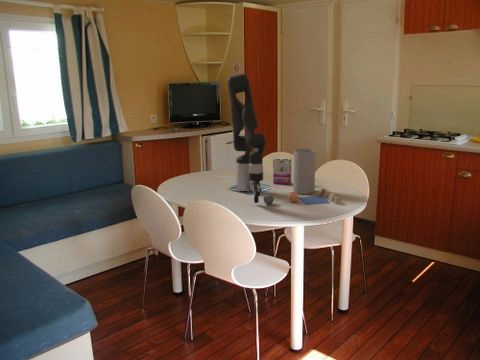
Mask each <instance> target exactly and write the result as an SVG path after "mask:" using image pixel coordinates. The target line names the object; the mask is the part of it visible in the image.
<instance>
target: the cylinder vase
mask: <svg viewBox="0 0 480 360" xmlns="http://www.w3.org/2000/svg"><path fill="white" fill-rule="evenodd" d="M292 178H293V180H292V181H293V185H292V186H293V188H292V189H293V191H292V192H295V193H297V194H298V195H311V194H314V193H315V188H316V187H315V186H316V184H315V183H316V149H312V148H296V149H294V150H293V177H292Z"/></svg>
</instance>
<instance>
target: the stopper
mask: <svg viewBox="0 0 480 360" xmlns="http://www.w3.org/2000/svg"><path fill="white" fill-rule="evenodd" d="M320 196H322V197H323V198H325V199H326V200H328V201H329V202H330V203H331V202H332V203H333V204H334V205H339V204H340V197H339V196H338V195H335V194H334V193H332V192H331V191H329V190H327V188H320Z"/></svg>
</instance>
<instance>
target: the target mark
mask: <svg viewBox="0 0 480 360" xmlns="http://www.w3.org/2000/svg"><path fill="white" fill-rule="evenodd" d="M298 200H299V201H301V202H302V203H303V204H305V205H306V206H310V205H320V204H330V203H331V201H330V200H328V199H327V198H325V197H324V196H322V195H313V196H312V195H311V196H301V197H299V196H298Z"/></svg>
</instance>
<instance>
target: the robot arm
mask: <svg viewBox="0 0 480 360" xmlns="http://www.w3.org/2000/svg"><path fill="white" fill-rule="evenodd" d="M227 91H228V95H229V101H230V114H231V123H232V124H231V125H232V133H233V134H232V135H233V137H232V139H233V148H234V149H233V150H235V151H236V152H245V153H244V154H243V155H240V156H238V157H236V160H235V161H236V162H235V164H236V165H235V166H236V191H237V190H238V191H237V192H240V191H247V190H251V189H252V190H251V192H252V194H253V202H254V204H258V203H259V197H260V195H261V192H262V188H261V186H262V185H261V183H260V182H261V181H263V180H264V163H263V161H264V159H263V154H264V151H265V148H266V144H267V143H266V142H267V141H266V137H265V135H264V134H262V133H255V130H257V129H258V128H259V123H258V120H257V119H258V118H257V117H256V113H255V112H256V111H255V108H254V101H253V95H252V89H251V85H250V80H249V77H248V75H247V74H245V73H240V74H237V75H233V76H230V77H228V78H227ZM240 93H241V94H242V93H244V95H245V99H244V103H242V101H241V100H239V98H238V97H237V94H240ZM244 128H245V129H244ZM243 129H244V135H240V134H241V132H242V131H243ZM252 149H254V150H252Z"/></svg>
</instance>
